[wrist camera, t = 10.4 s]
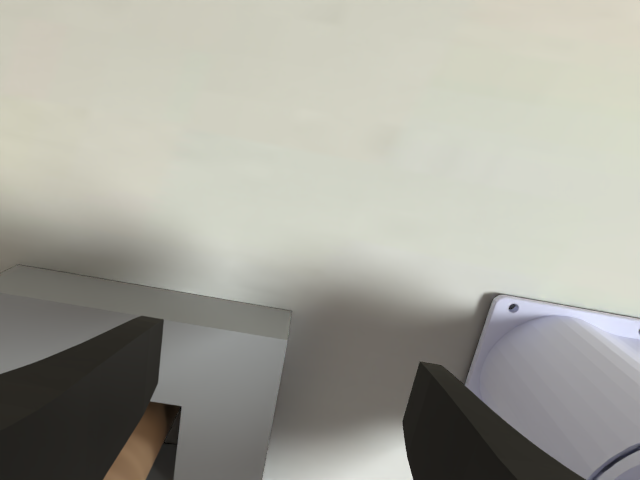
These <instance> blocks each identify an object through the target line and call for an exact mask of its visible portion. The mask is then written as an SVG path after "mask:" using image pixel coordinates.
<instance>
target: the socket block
mask: <svg viewBox="0 0 640 480" xmlns="http://www.w3.org/2000/svg"><path fill="white" fill-rule="evenodd" d="M291 315H292V311H289V310H283V309H277V308H271V307H265V306H259V305H253V304H248V303H242V302H236V301H230V300H224V299H218V298H212V297H206V296H200V295H194V294H189V293H183V292H177V291H171V290H165V289H159V288H153V287H147V286H141V285H135V284H130V283H124V282H118V281H112V280H106V279H100V278H94V277H88V276H82V275H76V274H71V273H65V272H59V271H53V270H47V269H41V268H35V267H29V266H23V265H16V266H14V267H12V268H10V269H8V270H6V271H4V272H2V273H0V374H2V373H5V372H8V371H11V370H14V369H17V368H20V367H23V366H26V365H29V364H31V363H34V362H37V361H39V360H42V359H45V358H47V357H49V356H52V355H54V354H57V353H59V352H61V351H64V350H66V349H69V348H71V347H73V346H76V345H78V344H81V343H83V342H85V341H87V340H89V339H91V338H94V337H96V336H98V335H100V334H102V333H104V332H106V331H109V330H111V329H113V328H115V327H117V326H119V325H121V324H123V323H125V322H128V321H130V320H132V319H134V318H137V317H139V316H147V317H153V318H159V319H164V325H163V335H162V346H161V357H160V368H159V379H158V385H157V387H156V389H155V391H154V393H153V396H152V398H151V400H150V401H151V402H158V403H164V404H171V405H177V406H182V409H181V418H180V427H179V435H178V444H177V445H173V444H166V443H163V444H162V446H161V448H160V451H159V453H158V455H157V457H156V459H155V461H154V463H153V465H152V467H151V469H150V471H149V474H148V476H147V478H146V480H262V477H263V471H264V466H265V461H266V455H267V450H268V445H269V439H270V434H271V429H272V423H273V418H274V412H275V407H276V402H277V396H278V391H279V386H280V380H281V375H282V370H283V364H284V359H285V353H286V348H287V343H288V336H289V329H290V322H291Z"/></svg>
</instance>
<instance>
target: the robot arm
mask: <svg viewBox="0 0 640 480" xmlns="http://www.w3.org/2000/svg"><path fill="white" fill-rule="evenodd" d="M511 304H515V307H514V308H513V309H510V310H508V309H509V306H510V305H511ZM163 325H164V319H159V318H153V317H147V316H139V317H137V318H134V319H132V320H130V321H128V322H125V323H123V324H121V325H119V326H117V327H115V328H113V329H111V330H109V331H106V332H104V333H102V334H100V335H98V336H96V337H94V338H91V339H89V340H87V341H85V342H83V343H81V344H78V345H76V346H73V347H71V348H69V349H66V350H64V351H61V352H59V353H57V354H54V355H52V356H49V357H47V358H45V359H42V360H39V361H37V362H34V363H31V364H29V365H26V366H23V367H20V368H17V369H14V370H11V371H8V372H5V373H2V374H0V480H103V479H104V477H105V476H106V474H107V472H108V471H109V469H110V468H111V466H112V464H113V463H114V461H115V460H116V458H117V457H118V455H119V453H120V452H121V450H122V449H123V447H124V446H125V444H126V442H127V441H128V439H129V438H130V436H131V434H132V433H133V431H134V430H135V428H136V426H137V425H138V423H139V422H140V420H141V418H142V417H143V415H144V413H145V411H146V409H147V406H148V404H149V402H150V400H151V398H152V396H153V393H154V391H155V389H156V387H157V385H158V379H159V368H160V357H161V346H162V335H163ZM639 329H640V319H638V318H632V317H627V316H621V315H615V314H610V313H604V312H599V311H593V310H587V309H582V308H576V307H570V306H565V305H559V304H553V303H548V302H542V301H536V300H531V299H525V298H519V297H514V296H508V295H499V296H497V297H495V298H494V299H493V301H492V304H491V307H490V310H489V313H488V316H487V319H486V322H485V325H484V328H483V331H482V334H481V337H480V340H479V343H478V346H477V349H476V352H475V355H474V358H473V361H472V364H471V367H470V370H469V373H468V377H467V380H466V383H465V385H464V384H463V383H462V382H461V381H459V380H458V379H457V378H456V377H455V376H454V375H453V374H451V373H450V372H449V371H448V370H447V369H445V368H444V367H443V366H441V365H437V364H431V363H425V362H420V363H419V366H418V370H417V373H416V377H415V380H414V384H413V387H412V390H411V394H410V397H409V401H408V404H407V408H406V411H405V415H404V418H403V430H404V438H405V445H406V452H407V458H408V461H409V465H410V469H411V473H412V476H413V480H640V331H639Z"/></svg>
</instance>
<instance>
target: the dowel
mask: <svg viewBox="0 0 640 480" xmlns="http://www.w3.org/2000/svg"><path fill="white" fill-rule="evenodd" d="M179 408H180V406H177V405H171V404H164V403H158V402H151V401H150V402H149V404H148V406H147V409H146V411H145V413H144V415H143V417H142V418H141V420H140V422H139V423H138V425H137V426H136V428H135V430H134V431H133V433H132V434H131V436H130V438H129V439H128V441H127V442H126V444H125V446H124V447H123V449H122V450H121V452H120V453H119V455H118V457H117V458H116V460H115V461H114V463H113V464H112V466H111V468H110V469H109V471H108V472H107V474H106V476H105V477H104V479H103V480H146V478H147V476H148V474H149V471H150V469H151V467H152V465H153V463H154V461H155V459H156V457H157V455H158V453H159V451H160V448H161V446H162V444H163V442H164V440H165V438H166V436H167V434H168V432H169V430H170V428H171V426H172V423H173V421H174V419H175V417H176V415H177V413H178V411H179Z"/></svg>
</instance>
